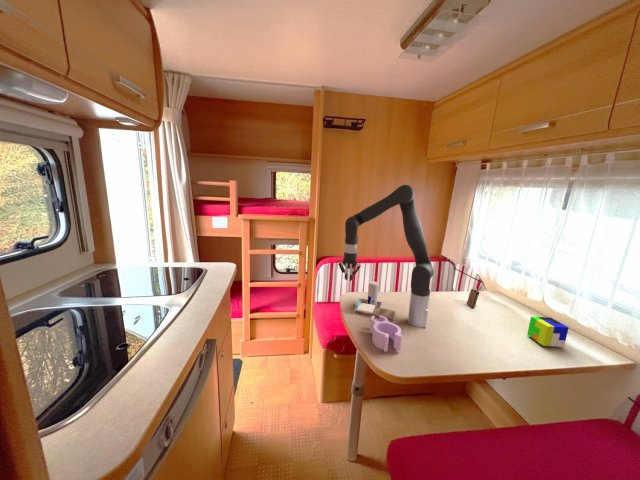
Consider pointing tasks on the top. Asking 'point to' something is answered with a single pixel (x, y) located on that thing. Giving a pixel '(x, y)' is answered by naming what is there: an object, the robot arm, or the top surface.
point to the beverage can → (373, 293)
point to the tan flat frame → (378, 311)
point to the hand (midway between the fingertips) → (348, 280)
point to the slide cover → (364, 307)
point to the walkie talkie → (473, 297)
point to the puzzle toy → (547, 331)
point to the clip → (385, 333)
